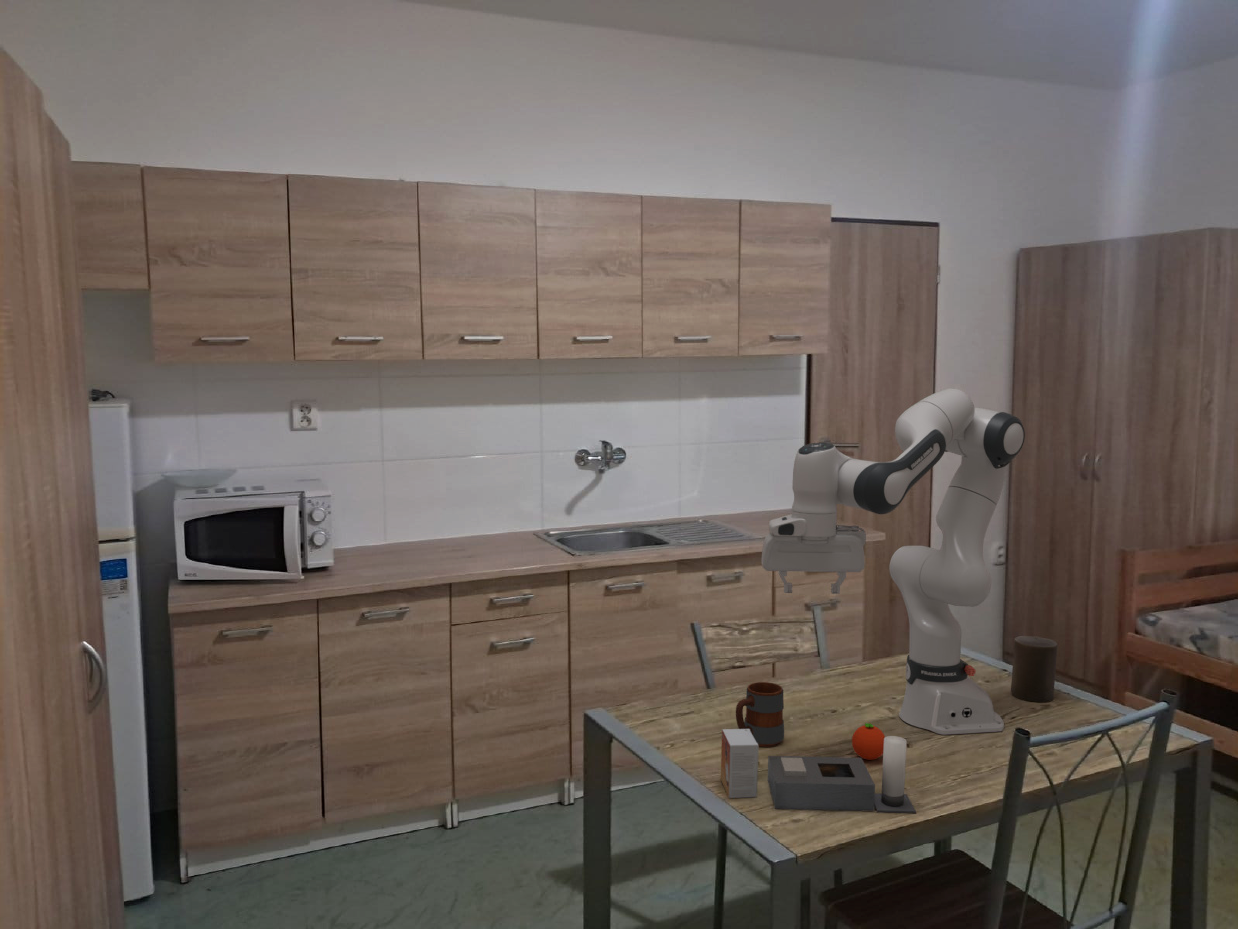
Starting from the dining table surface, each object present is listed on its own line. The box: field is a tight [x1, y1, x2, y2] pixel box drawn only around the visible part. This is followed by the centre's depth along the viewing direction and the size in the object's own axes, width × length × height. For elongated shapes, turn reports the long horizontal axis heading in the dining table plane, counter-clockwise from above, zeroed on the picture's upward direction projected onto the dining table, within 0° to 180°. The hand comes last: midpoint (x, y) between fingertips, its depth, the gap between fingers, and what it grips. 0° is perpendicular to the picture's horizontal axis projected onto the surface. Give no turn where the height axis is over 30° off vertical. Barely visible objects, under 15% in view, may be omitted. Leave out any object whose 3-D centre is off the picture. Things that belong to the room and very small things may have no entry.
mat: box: [874, 792, 917, 814], centre depth 185 cm, size 7×7×1 cm
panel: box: [767, 755, 876, 812], centre depth 188 cm, size 18×12×6 cm, turn 88°
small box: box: [720, 728, 760, 799], centre depth 191 cm, size 8×6×10 cm
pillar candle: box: [1010, 635, 1058, 704], centre depth 242 cm, size 10×10×15 cm
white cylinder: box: [881, 735, 908, 807], centre depth 185 cm, size 4×4×12 cm
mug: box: [735, 681, 785, 748], centre depth 213 cm, size 9×12×12 cm
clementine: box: [851, 722, 886, 761], centre depth 206 cm, size 8×7×7 cm
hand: (811, 592), depth 200 cm, fingers open, 8 cm apart
